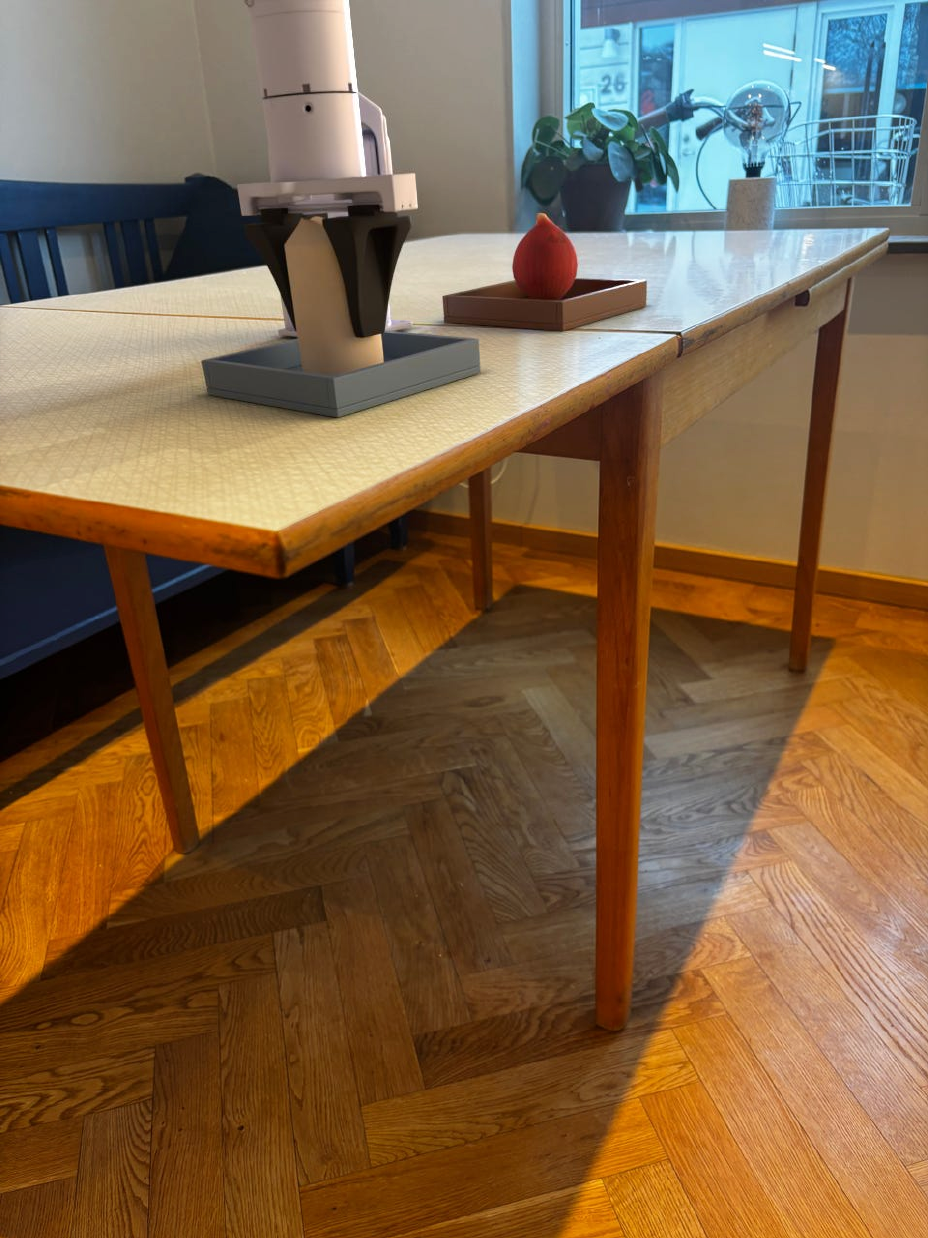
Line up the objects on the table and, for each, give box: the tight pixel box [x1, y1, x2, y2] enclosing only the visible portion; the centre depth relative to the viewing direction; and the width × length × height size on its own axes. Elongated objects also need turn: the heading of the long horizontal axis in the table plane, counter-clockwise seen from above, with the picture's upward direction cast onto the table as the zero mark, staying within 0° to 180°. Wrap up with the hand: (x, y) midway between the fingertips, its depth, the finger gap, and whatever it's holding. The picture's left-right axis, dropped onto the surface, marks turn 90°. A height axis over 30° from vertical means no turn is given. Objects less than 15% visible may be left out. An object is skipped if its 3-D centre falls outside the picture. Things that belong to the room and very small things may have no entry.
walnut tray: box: [441, 277, 648, 332], centre depth 83 cm, size 13×13×2 cm
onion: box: [511, 212, 579, 301], centre depth 81 cm, size 6×6×8 cm
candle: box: [284, 216, 384, 376], centre depth 60 cm, size 6×6×10 cm
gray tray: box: [201, 330, 482, 418], centre depth 62 cm, size 13×13×2 cm
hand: (338, 332), depth 61 cm, fingers closed on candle, 5 cm apart
